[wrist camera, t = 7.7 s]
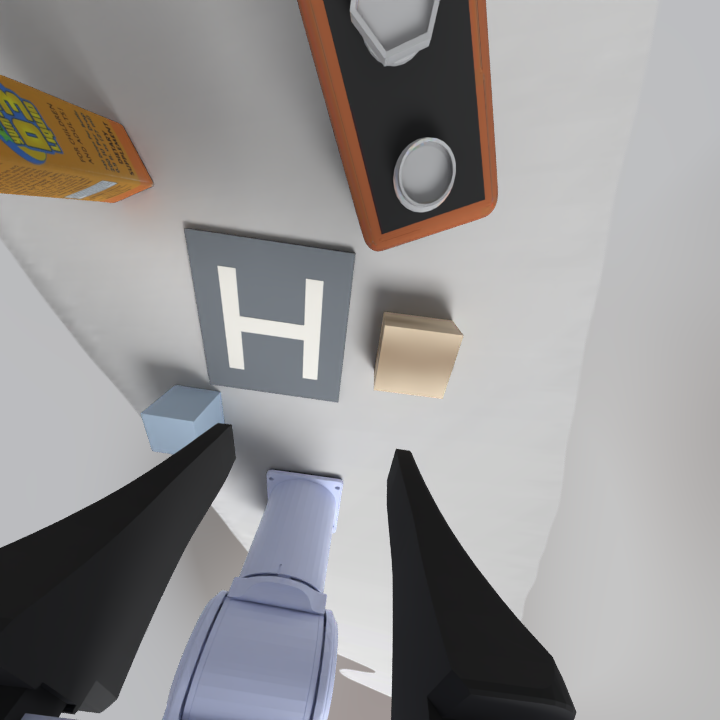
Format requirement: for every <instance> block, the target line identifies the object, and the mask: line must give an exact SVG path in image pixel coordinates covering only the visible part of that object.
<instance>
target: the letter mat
mask: <svg viewBox="0 0 720 720" xmlns="http://www.w3.org/2000/svg"><path fill="white" fill-rule="evenodd" d="M184 231H185V237H186V243H187V249H188V255H189V261H190V267H191V273H192V279H193V284H194V290H195V296H196V302H197V308H198V314H199V320H200V326H201V332H202V338H203V344H204V350H205V356H206V362H207V368H208V374H209V380H210V384H212V385H219V386H226V387H233V388H240V389H247V390H254V391H261V392H268V393H275V394H283V395H290V396H297V397H304V398H311V399H318V400H325V401H332V402H338V400H339V391H340V382H341V374H342V365H343V357H344V348H345V339H346V331H347V322H348V313H349V305H350V296H351V287H352V279H353V270H354V261H355V253H350V252H343V251H337V250H330V249H323V248H317V247H310V246H303V245H296V244H290V243H283V242H276V241H270V240H263V239H256V238H249V237H243V236H236V235H229V234H223V233H216V232H209V231H202V230H196V229H189V228H186V229H184Z"/></svg>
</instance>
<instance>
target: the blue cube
mask: <svg viewBox="0 0 720 720" xmlns="http://www.w3.org/2000/svg"><path fill="white" fill-rule="evenodd" d="M141 417H142V420H143V423H144V426H145V429H146V432H147V436H148V439H149V442H150V445H151V449H152V451H155V452H162V453H168V454H175V453H176V452H178V451H179V450H181V449H182V448H183V447H185V446H186V445H188V444H189V443H190V442H192V441H193V440H195V439H196V438H197V437H199V436H200V435H201V434H203V433H204V432H206V431H207V430H208V429H210V428H211V427H213V426H214V425H215V424H217V423H222V424H225V423H224V415H223V407H222V399H221V392H218V391H211V390H205V389H199V388H192V387H186V386H180V385H175V386H173V387H172V388H171V389H170V390H169V391H167V392H166V393H165V394H164V395H163V396H161V397H160V398H159V399H158V400H156V401H155V402H154V403H153V404H152V405H150V406H149V407H148V408H147V409H145V410H144V411H143V412H142V413H141Z"/></svg>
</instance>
